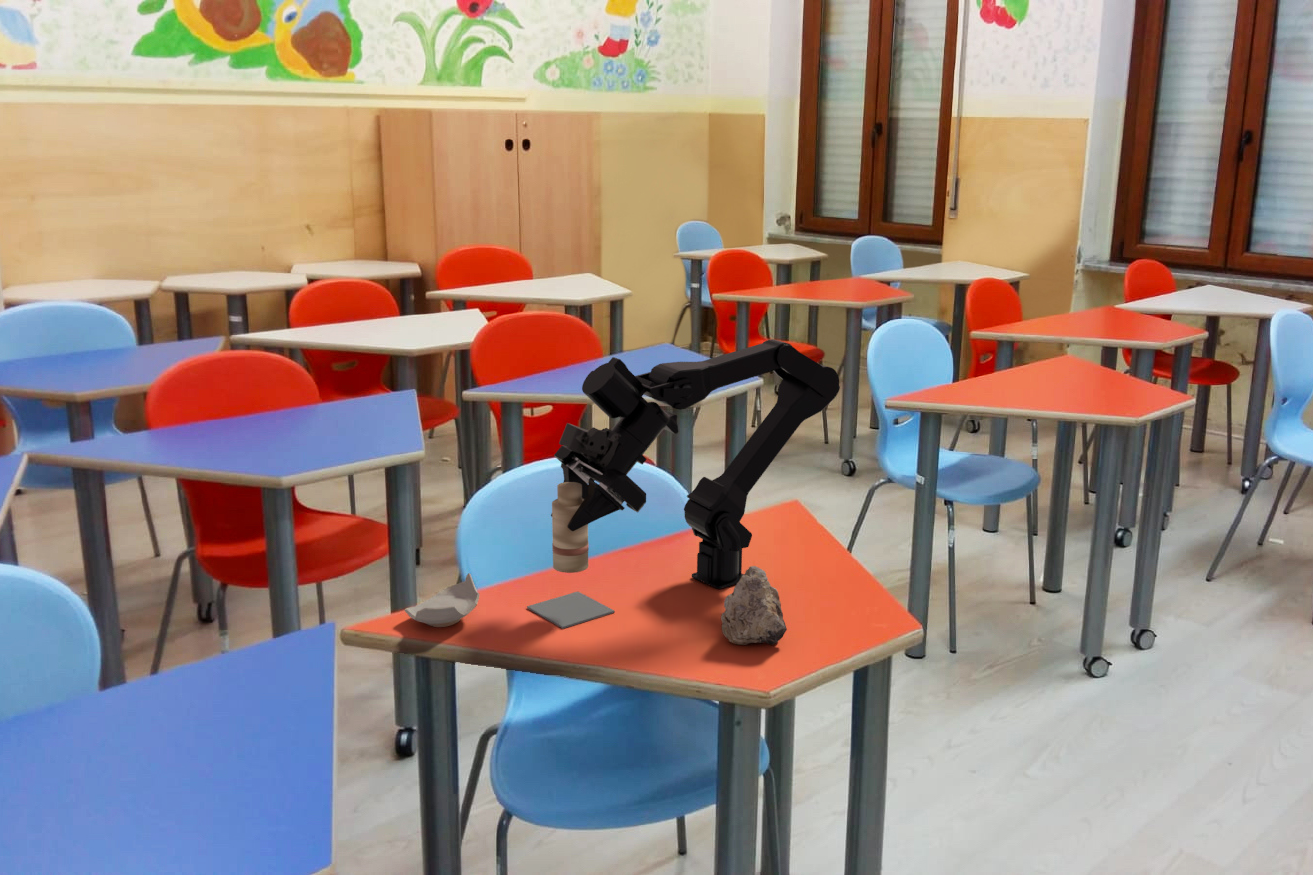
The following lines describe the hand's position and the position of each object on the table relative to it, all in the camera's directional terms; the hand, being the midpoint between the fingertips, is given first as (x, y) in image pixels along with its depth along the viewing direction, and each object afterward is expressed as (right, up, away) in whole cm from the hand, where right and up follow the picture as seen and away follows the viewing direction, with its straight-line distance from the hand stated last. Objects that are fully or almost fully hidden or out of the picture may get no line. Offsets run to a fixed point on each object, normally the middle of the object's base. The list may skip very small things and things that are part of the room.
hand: (561, 523), depth 156 cm
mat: (+1, -13, +4) cm, 13 cm away
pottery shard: (-17, -14, 0) cm, 22 cm away
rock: (+26, -15, -4) cm, 30 cm away
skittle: (+1, -6, +2) cm, 7 cm away
